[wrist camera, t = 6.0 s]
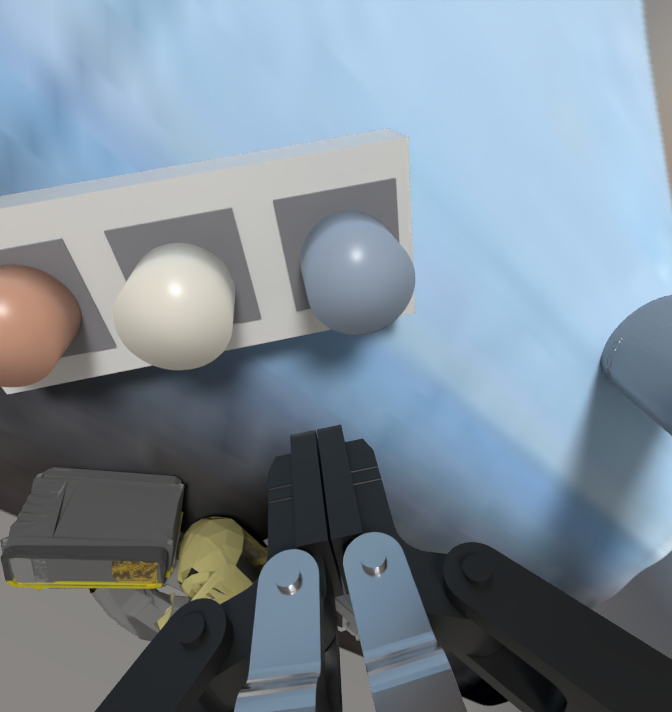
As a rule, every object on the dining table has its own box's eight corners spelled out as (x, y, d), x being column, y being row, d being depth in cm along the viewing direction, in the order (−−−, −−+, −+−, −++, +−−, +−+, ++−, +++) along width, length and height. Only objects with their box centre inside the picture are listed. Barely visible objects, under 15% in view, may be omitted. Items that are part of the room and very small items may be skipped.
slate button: (391, 202, 21) (413, 222, 18) (397, 293, 24) (417, 323, 21) (291, 220, 21) (297, 244, 18) (309, 311, 24) (316, 344, 21)
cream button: (219, 234, 21) (214, 260, 18) (246, 323, 24) (244, 358, 21) (115, 253, 20) (92, 283, 18) (154, 341, 23) (140, 379, 20)
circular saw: (394, 553, 48) (202, 622, 52) (260, 366, 31) (-13, 488, 35) (421, 659, 40) (190, 733, 43) (257, 482, 23) (-102, 628, 26)
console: (387, 128, 25) (409, 137, 21) (397, 286, 30) (416, 314, 27) (-62, 207, 23) (-118, 230, 20) (35, 357, 29) (5, 396, 25)
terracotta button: (52, 256, 22) (21, 284, 19) (97, 340, 24) (76, 375, 21) (-51, 274, 21) (-98, 306, 18) (7, 357, 24) (-27, 396, 21)
